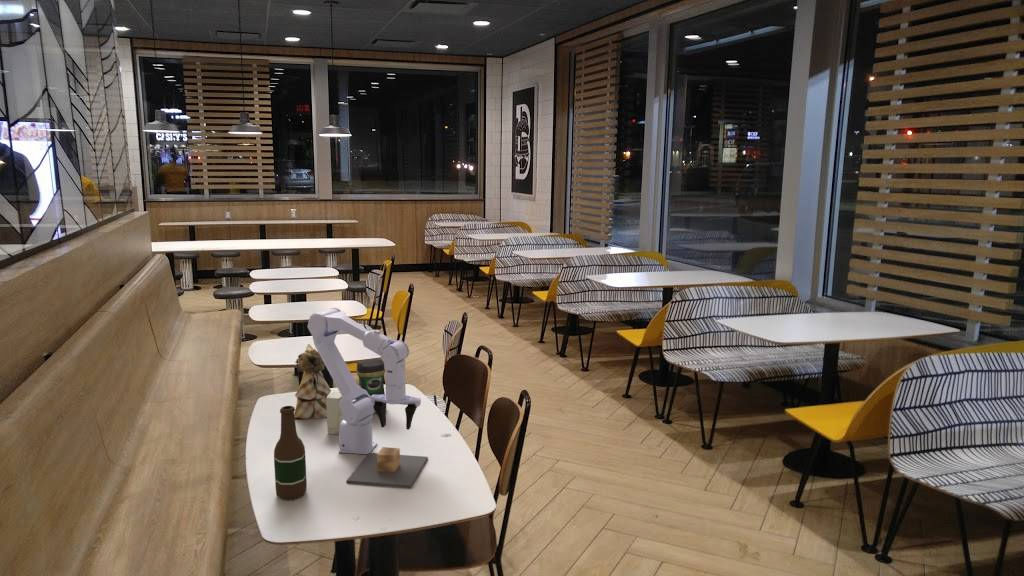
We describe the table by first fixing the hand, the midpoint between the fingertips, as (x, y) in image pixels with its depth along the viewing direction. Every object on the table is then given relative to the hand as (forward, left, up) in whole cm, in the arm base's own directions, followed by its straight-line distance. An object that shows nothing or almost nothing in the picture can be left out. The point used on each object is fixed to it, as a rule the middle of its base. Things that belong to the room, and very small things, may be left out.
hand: (396, 427), depth 200 cm
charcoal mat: (+1, -9, -9) cm, 13 cm away
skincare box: (-24, +16, -10) cm, 31 cm away
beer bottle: (-20, -26, -10) cm, 35 cm away
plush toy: (-37, +29, -10) cm, 48 cm away
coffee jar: (-19, +35, -10) cm, 41 cm away
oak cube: (0, -9, -9) cm, 12 cm away
